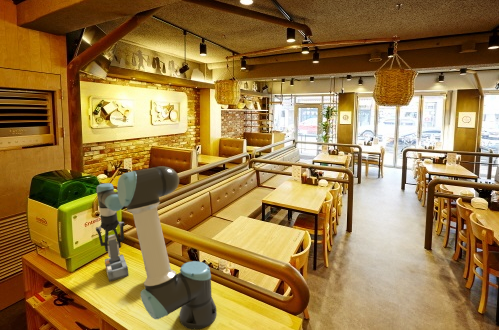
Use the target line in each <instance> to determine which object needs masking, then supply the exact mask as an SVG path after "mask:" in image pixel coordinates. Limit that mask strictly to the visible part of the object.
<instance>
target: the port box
mask: <svg viewBox="0 0 499 330" xmlns="http://www.w3.org/2000/svg"><path fill="white" fill-rule="evenodd" d="M118 256H119V260H116V261H112V262H111V258H110V257H108V258H105V259H104V265H105V270H106V274H107V278H108V281H109V283H111V282H113V281H116V280H119V279H122V278H126V277H129V275H130V274H129V269H128V268H129V267H128V264H127V262H126V259H125V256H124V254H120V255H118Z"/></svg>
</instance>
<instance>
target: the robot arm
mask: <svg viewBox="0 0 499 330" xmlns="http://www.w3.org/2000/svg"><path fill="white" fill-rule="evenodd" d="M179 184H180V177H179V175H178V173H177V172H176V171H175V169H173V168H171V167H169V166H164V165H162V166H155V167H151V168H143V169H138V170H132V171H129V172H125V173H122V174H121V175H119V178H118V181H117V188H116V190H117V191H115V190H114V189H115V188H114V184H112V183H110V182H107V183H100V184H98V185H97V186H96V195H97V202H98V208H99V215H100V225H99V226H98V227H97V226H96V227H95V231H96V233H97V235H98V239H99V244H100V246H101V247H104V250H105V252H107V253H108V258H110V257H111V255H110V248H109V244H108V236H109V233H110V232H111V231H113V232H114V233H113V234H114V235H115V236H116V241H117V249H118V256H119V255H121V254H120V249H121V248H122V244H121V243H122V242H123V241H124V240H125V234H124V227H125V222H124V221H119V219H118V214H117V211H120V210H121V209H123V208H124V207H125V208H126V211H127V212H129V213H131V214H132V216H133V221H134V225H135V228H136V233H137V239H138V244H139V246H140V247H139V248H140V250H141V256H142V260H143V264H144V269H145V274H146V278H145V280H144V282H143V285H144V289H142V290H140V299H141V302H142V304H143V306H144V308H145V310H146V312H147V313H148V315H149V316H150V317H151V318H152V319H153V320H160V319H163V318H164V317H167V316H169V315H170V314H172V313H174V312H175V311H177V310H178V309H180V310H179V322H180V324H181V325H182V327H184V328H186V329H188V330H202V329H205V328H207V327H208V326H210V325H212V324H213V323H214V321H215V320H216V318H217V311H218V310H217V306H216V303H215V301H214V299H213V295H212V274H211V268H210V266H209V265H208V264H207V263H205V262H202V261H199V260H197V261H196V260H193V261H187V262H184V263H183V264H182V265H181V267H180V268H179V271H180V272H178V273H177V272H176V271H175V270H173V269H171V264H170V260H169V255H168V251H167V247H166V243H165V238H164V234H163V229H162V225H161V220H160V216H159V211H158V207H159V205H160V203H161V201H160V198H162V197H165V196H167V195H170V194H172V193H173V192H175V191H176V190H177V189H178V186H179ZM118 226H119V230H120V232H119V233H120V237H119V233H118V231H117V227H118ZM102 229H103V230H104V241H103V238H102V233H101V231H102Z"/></svg>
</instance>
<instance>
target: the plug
mask: <svg viewBox="0 0 499 330" xmlns="http://www.w3.org/2000/svg"><path fill="white" fill-rule="evenodd" d="M108 244H109V248H110V255H111V257H109V258H111V262H112V261H116V260H119V255H118V249H117V238H116V236H115V234H110V235H108Z"/></svg>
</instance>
